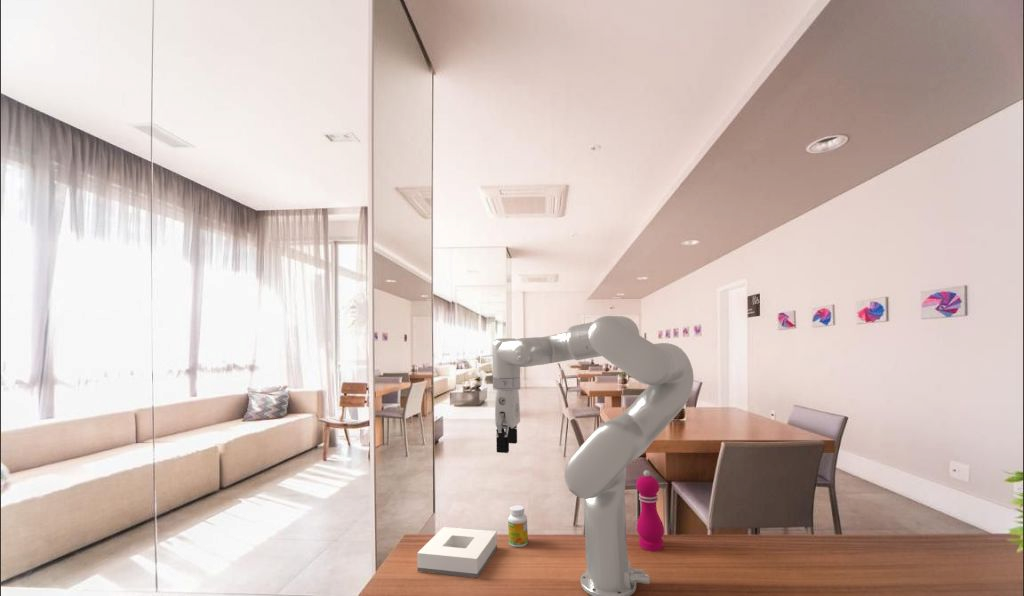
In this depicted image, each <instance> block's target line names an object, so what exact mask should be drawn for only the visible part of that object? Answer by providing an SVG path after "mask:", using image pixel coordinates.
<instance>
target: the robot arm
mask: <svg viewBox="0 0 1024 596" xmlns="http://www.w3.org/2000/svg"><path fill="white" fill-rule="evenodd" d="M598 357H603V358H604V359H605V360H606V361H608V362H610V363H611V364H613V365H614V366H615V367H617V368H618V369H619V370H621V371H622V372H624V373H625V374H626V375H628V376H629V377H631V378H632V379H634V380H635V381H637V382H639V383H640V384H642V385H643V384H644V385H646V386H647V387H646V389H644V390H643V391H642V392H641V393H640V394H639V395H638V396H637V397H636V399H635V400H634V401H633V403H632V404H631V405H630V406H628V408H627V409H626V410H625V411H623V412H622V413H621V414H619V415H617V416H615V417H613V418H611V419H609V420H606V421H604V422H603V423H602V424H600V425H599V426H597V428H596V429H595V430H594V431H593V432H592V433H591V434H590V435H589V436H588V437H587V439H585V441H584V442H583V443H582V444H581V445H580V446H579V447H578V449H577V450H576V451H575V452H574V453H573V454H572V455H571V457H570V458H569V459H568V461H566V465H565V468H564V481H565V484H566V487H567V489H568V490H569V491H570V492H571V493H572V494H573V495H574V496H575V497H577V498H581V499H583V518H584V520H583V522H584V535H585V536H584V539H585V543H584V544H585V557H586V558H585V559H586V562H585V563H586V570H585V571H584V572H583V573H582V574H581V576H580V586H581V588H582V589H583V591H584V592H585V593H587V594H588V595H590V596H632V595H633V594H635V592H636V591H637V583H638V584H639V583H641V584H644V585H650V582H651V581H650V574H649V573H644V571H645V570H644V569H642V568H634V567H631V560H629V555H628V554H629V551H628V539H627V521H626V497H625V496H626V483H627V482H626V478H627V466H628V465H630V464H631V463H632V462H633V461H634V460H637V459H638V458H639V457H641V456H642V455H643V454H644V453H645V452H646V451H647V449H648V448H649V447H650V445H651V444H652V443H653V442H654V441H655V440H656V439H657V437H659V436H660V434H662V432H664V430H665V429H666V428H667V427H668V426H669V425H670V424H671V422H672V421H673V420H674V419H675V418H676V417H677V415H678V414H680V412H681V411H682V410H683V409H684V407H685V406H686V404H687V402H688V400H689V398H690V396H691V394H692V391H693V386H694V371H693V365H692V363H691V360H690V358H689V356H688V355H687V353H685V351H684V350H683V349H682V348H681V347H679V346H678V345H676V344H673V343H669V342H661V343H653V342H651V341H649V340H648V339H646V338H645V337H643V336H641V335H640V330H639V327H638V325H637V324H636V322H635V321H634V320H632V319H631V318H629V317H626V316H623V315H606V316H605V315H604V316H601V317H598V318H596V319H595V320H594V321H591V322H586V323H581V324H575V325H571V326H570V327H569V328H568V330H567V331H564V332H561V333H556V334H553V335H547V336H540V337H538V336H537V337H536V336H535V337H522V338H509V337H505V338H497V339H495V340H493V342H492V390H494V391H495V397H494V398H495V402H494V403H495V404H494V406H495V408H494V420H495V421H494V422H495V423H494V424H495V426H496V435H495V437H496V440H495V441H496V453H498V454H499V453H502V454H508V453H509V451H510V444H517V443H518V424H520V422H521V410H520V395H519V394H520V393H519V391H520V390H521V367H522V368H527V367H535V366H540V365H541V366H543V365H549V364H553V363H559V362H561V363H562V362H567V361H572V360H575V361H582V360H588V359H592V358H598Z"/></svg>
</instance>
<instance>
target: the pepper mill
mask: <svg viewBox="0 0 1024 596" xmlns="http://www.w3.org/2000/svg"><path fill="white" fill-rule="evenodd" d="M635 483H636V485H635V487H636V490H637V491H638V492H639V494H638V500H639V501H640V505H641V509H640V514H639V517H638V519H637V523H636V532H637V533H638V536H639V537H638V542H639V547H640V549H643V550H645V551H648V552H649V551H650V552H659V551H661V550H663V549H664V540H663V538H662V537H663V536H664V534H665V526H664V524H663V520H662V519H661V517H660V514H659V513H658V510H657V502H658V501H659V498H658V497H659V496H658V494H657V493H659V490H660V485H659V482H658V480H657V478H656V477H653V476H652V475H651V472H650V471H649V470H647V469H646V470H644V471H643V475H641V476H640V477H638V479H637V480H636V482H635Z"/></svg>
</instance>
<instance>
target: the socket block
mask: <svg viewBox="0 0 1024 596" xmlns="http://www.w3.org/2000/svg"><path fill="white" fill-rule="evenodd" d="M497 533H498V532H497V531H496V530H485V529H476V528H475V529H471V528H459V527H448V526H443V527H442V528H441V529H440V530H439V531H437V533H436V534H435V535H433V537H432V538H431V539H430V540H428V541H427V542H426V544H424V546H423V547H421V548H420V549H419V550H418V552H416V553H417V555H416V557H417V558H416V559H417V572H418V571H422V572H421V573H425V572H431V573H430V574H435V573H438V575H444V574H445V576H455V577H464V578H471V577H473V578H472V579H478V578H479V577H480V575H481V573H482V572H483V570H484V569H485V568H486V566H487V564H488V563H489V561H490V560H491V558H492V557H493V555H494V554H495V552H496V551H497V549H498V534H497ZM432 572H433V573H432ZM478 576H479V577H478Z"/></svg>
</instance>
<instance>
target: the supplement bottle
mask: <svg viewBox="0 0 1024 596" xmlns="http://www.w3.org/2000/svg"><path fill="white" fill-rule="evenodd" d="M509 512H510V513H509V514H510V515H509V516H508V518H507V522H508V523H507V526H508V528H507V529H508V543H509V546H511V547H512V548H521V547H522V548H523V547H525V546H526V545H527V544H528V542H529V540H528V539H529V536H528V534H529V533H528V531H529V530H528V516H527V515H526V514H525V507H524V505H519V504H516V505H512V506H510V508H509Z"/></svg>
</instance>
